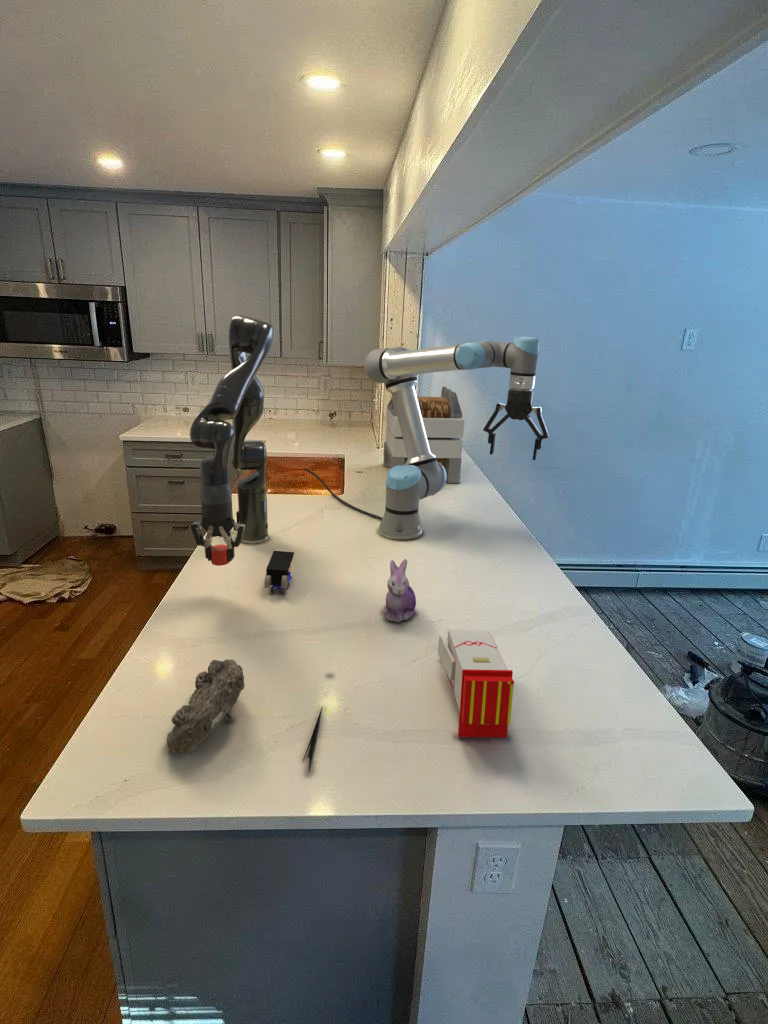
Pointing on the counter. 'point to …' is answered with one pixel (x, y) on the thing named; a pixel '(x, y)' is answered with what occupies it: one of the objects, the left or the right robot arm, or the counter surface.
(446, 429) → the white wooden crate
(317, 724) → the feather
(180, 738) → the fossil
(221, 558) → the cylinder
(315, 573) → the counter surface
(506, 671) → the toy
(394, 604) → the figurine
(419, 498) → the right robot arm
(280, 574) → the black rover
